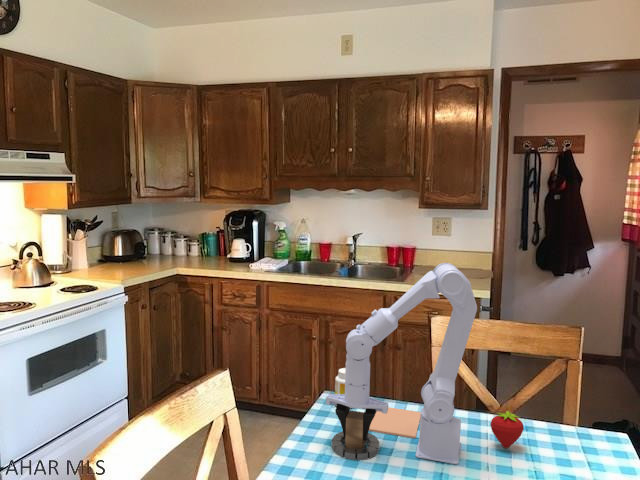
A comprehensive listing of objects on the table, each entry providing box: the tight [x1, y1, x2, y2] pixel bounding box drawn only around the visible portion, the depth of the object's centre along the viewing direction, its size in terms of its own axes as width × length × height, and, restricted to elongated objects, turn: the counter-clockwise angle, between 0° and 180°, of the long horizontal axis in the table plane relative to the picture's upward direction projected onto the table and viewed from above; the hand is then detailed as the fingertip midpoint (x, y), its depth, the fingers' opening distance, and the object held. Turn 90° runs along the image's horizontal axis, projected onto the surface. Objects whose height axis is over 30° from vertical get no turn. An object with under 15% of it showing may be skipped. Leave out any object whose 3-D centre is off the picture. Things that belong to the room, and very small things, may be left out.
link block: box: [344, 409, 367, 449], centre depth 120 cm, size 4×4×8 cm
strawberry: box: [490, 405, 524, 449], centre depth 122 cm, size 6×8×10 cm
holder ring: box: [331, 430, 381, 461], centre depth 121 cm, size 11×11×2 cm
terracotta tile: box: [369, 406, 421, 439], centre depth 134 cm, size 14×14×1 cm
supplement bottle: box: [334, 367, 352, 409], centre depth 142 cm, size 6×6×10 cm
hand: (355, 436), depth 120 cm, fingers closed on link block, 4 cm apart
